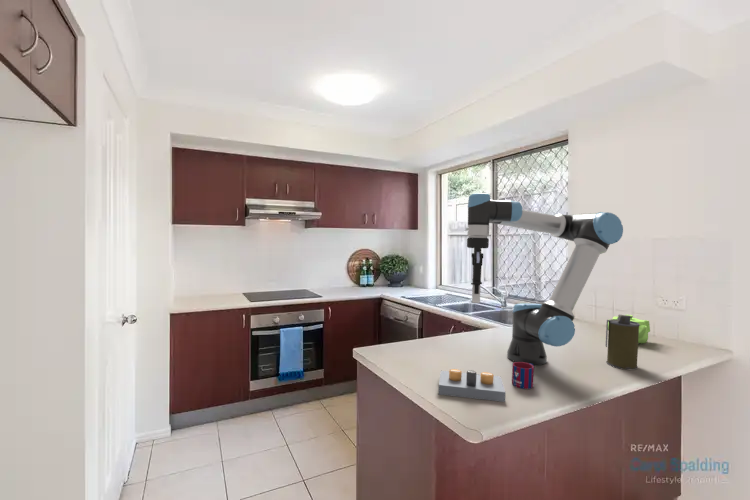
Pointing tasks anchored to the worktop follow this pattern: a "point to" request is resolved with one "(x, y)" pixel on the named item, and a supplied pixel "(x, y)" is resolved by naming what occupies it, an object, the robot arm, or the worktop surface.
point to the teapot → (640, 329)
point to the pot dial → (471, 378)
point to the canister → (622, 342)
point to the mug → (522, 375)
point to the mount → (472, 388)
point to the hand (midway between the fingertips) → (475, 302)
